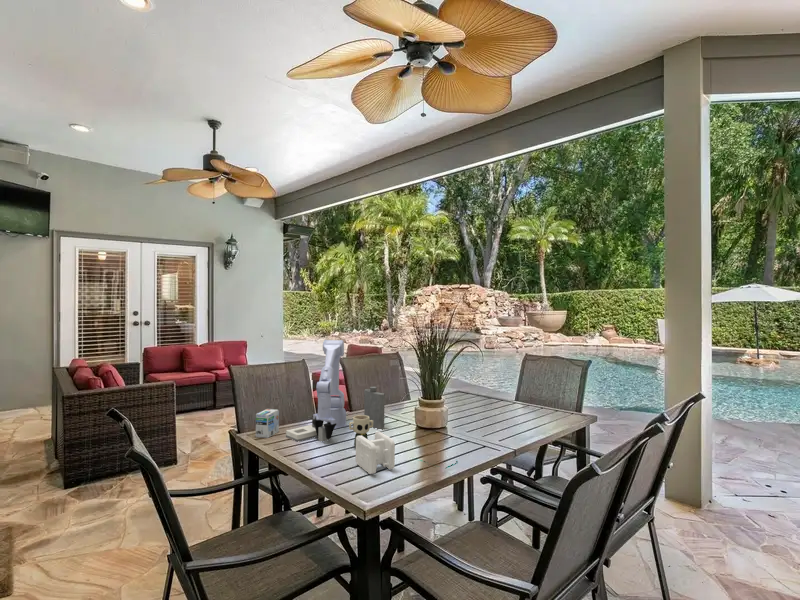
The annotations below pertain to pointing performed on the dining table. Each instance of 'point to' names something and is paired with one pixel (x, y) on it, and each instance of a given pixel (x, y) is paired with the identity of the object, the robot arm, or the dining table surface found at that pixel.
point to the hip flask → (374, 407)
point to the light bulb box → (267, 423)
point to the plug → (322, 434)
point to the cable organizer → (375, 452)
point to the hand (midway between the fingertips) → (324, 436)
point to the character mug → (360, 426)
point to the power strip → (302, 433)
